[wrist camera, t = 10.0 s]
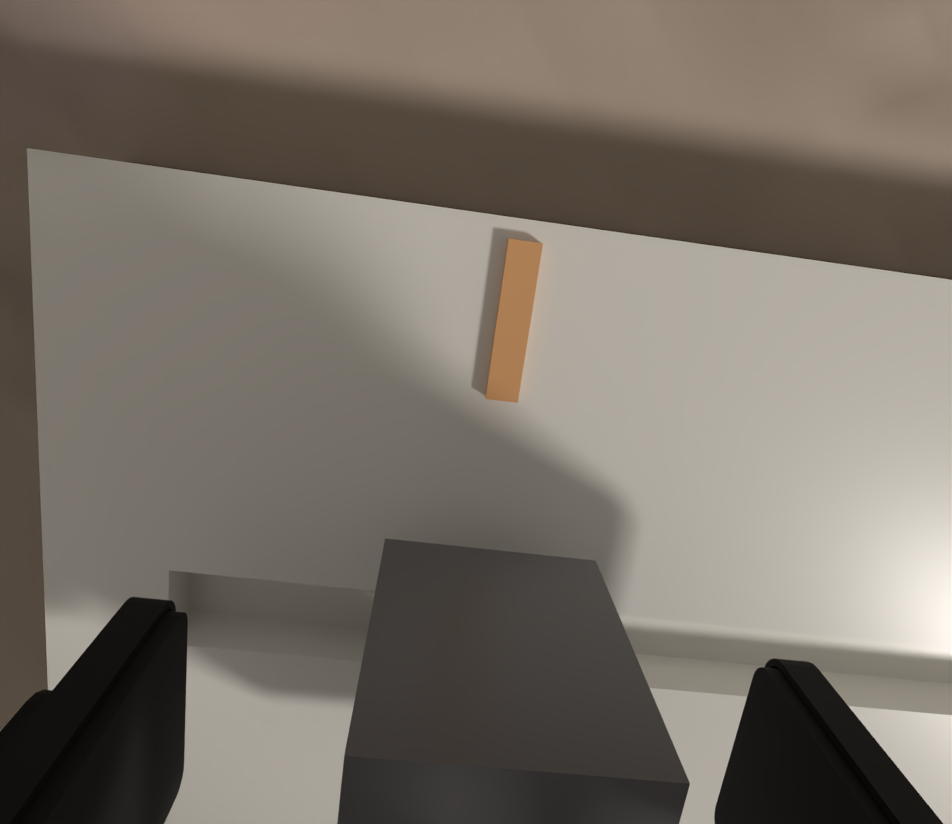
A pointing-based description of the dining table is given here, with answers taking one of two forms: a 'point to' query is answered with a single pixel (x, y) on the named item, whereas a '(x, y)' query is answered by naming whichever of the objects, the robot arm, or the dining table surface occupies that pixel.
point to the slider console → (479, 456)
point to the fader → (502, 698)
